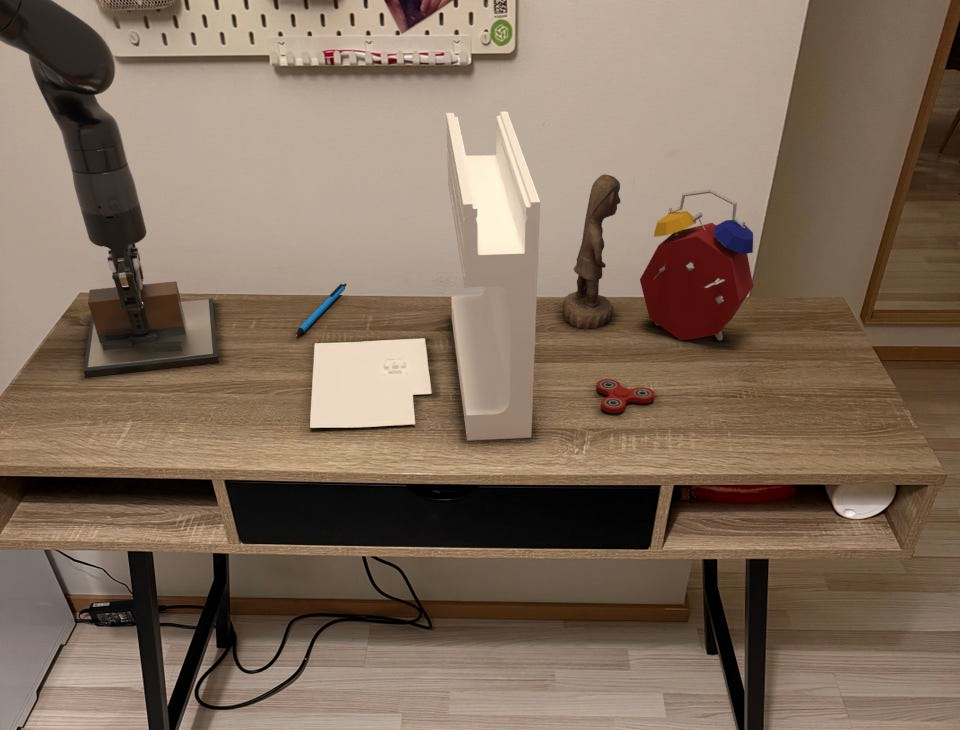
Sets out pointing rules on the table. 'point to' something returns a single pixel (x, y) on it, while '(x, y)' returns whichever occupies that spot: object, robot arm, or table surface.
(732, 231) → the alarm clock
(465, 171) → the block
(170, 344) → the stroke
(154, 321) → the eraser
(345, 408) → the paper
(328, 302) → the pen
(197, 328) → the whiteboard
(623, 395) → the fidget spinner
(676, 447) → the table surface
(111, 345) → the stroke
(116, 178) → the robot arm
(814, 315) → the table surface
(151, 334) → the stroke
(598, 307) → the figurine
